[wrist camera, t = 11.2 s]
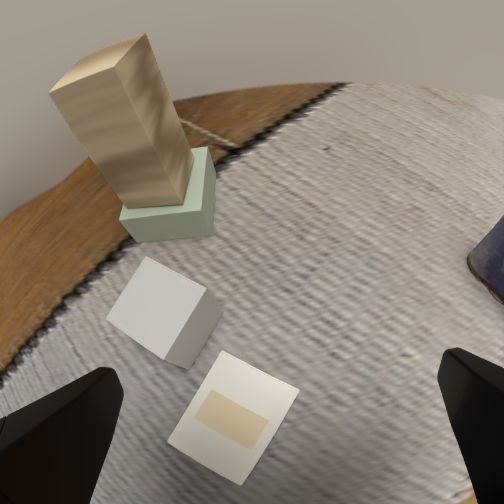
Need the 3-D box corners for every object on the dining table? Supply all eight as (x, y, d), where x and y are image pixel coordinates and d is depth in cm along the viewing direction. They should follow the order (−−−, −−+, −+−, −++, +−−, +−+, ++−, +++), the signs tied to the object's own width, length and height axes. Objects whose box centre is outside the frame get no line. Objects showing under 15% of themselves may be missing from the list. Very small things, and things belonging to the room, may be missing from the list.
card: (242, 484, 16) (240, 486, 16) (169, 441, 18) (165, 442, 17) (299, 389, 19) (299, 389, 18) (223, 351, 21) (221, 349, 20)
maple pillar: (182, 203, 22) (113, 66, 12) (127, 208, 23) (48, 93, 13) (194, 157, 25) (145, 32, 15) (143, 164, 26) (84, 54, 15)
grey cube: (189, 370, 21) (163, 359, 16) (138, 336, 22) (105, 318, 18) (223, 312, 22) (206, 288, 18) (171, 284, 24) (146, 256, 20)
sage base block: (213, 237, 26) (201, 210, 22) (138, 244, 26) (119, 220, 23) (216, 176, 29) (207, 146, 26) (150, 185, 30) (136, 158, 26)
